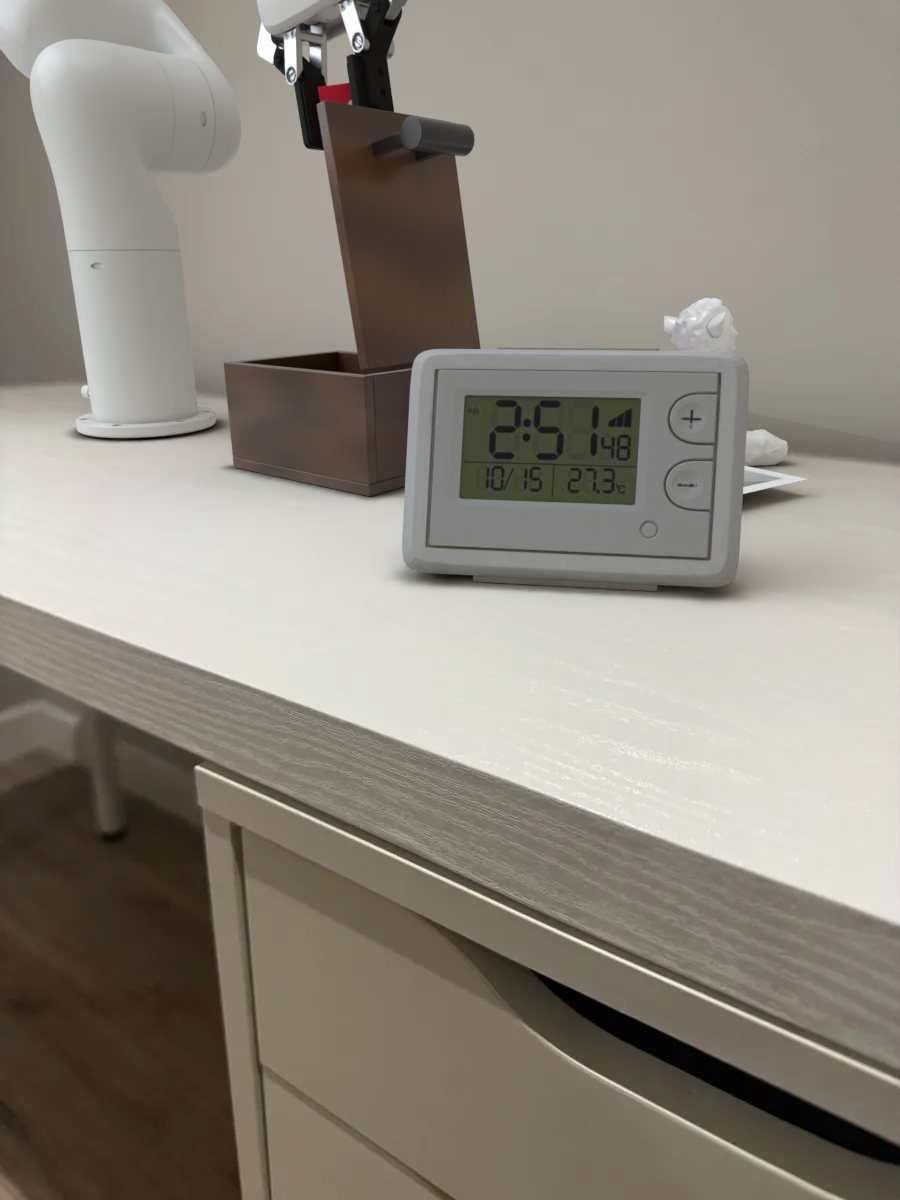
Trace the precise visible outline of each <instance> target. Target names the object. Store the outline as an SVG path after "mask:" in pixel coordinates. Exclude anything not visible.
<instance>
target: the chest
mask: <svg viewBox="0 0 900 1200" xmlns="http://www.w3.org/2000/svg"><path fill="white" fill-rule="evenodd" d="M412 367H413V363H410V364H402V365H395V366H387V367H380V368H372V369H364V370H361V369H360V365H359V359H358V353H357V351H353V350H352V351H351V350H339V349H337V350H329V351H320V352H310V353H309V352H308V353H300V354H292V355H291V354H290V355H281V356H273V357H272V356H271V357H261V358H253V359H245V360H243V359H242V360H234V361H224V362H223V371H224V380H225V381H224V382H225V392H226V402H227V412H228V413H227V414H228V422H229V423H228V424H229V433H230V445H231V453H232V463H233V464H232V465H233V468H236V469H240V470H245V471H250V472H254V473H260V474H264V475H267V476H268V475H269V476H273V477H276V478H277V477H278V478H281V479H282V478H283V479H286V480H291V481H297V482H301V483H306V484H310V485H314V486H315V485H316V486H320V487H324V488H328V489H334V490H339V491H342V492H348V493H352V494H358V495H360V496H361V495H362V496H367V497H372V496H375V495H380V494H383V493H386V492H391V491H394V490H397V489H401V488H405V477H406V457H407V438H408V419H409V400H410V385H411V374H412Z"/></svg>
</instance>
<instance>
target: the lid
mask: <svg viewBox="0 0 900 1200" xmlns="http://www.w3.org/2000/svg"><path fill="white" fill-rule="evenodd" d="M316 106H317V112H318V118H319V124H320V130H321V136H322V142H323V148H324V151H323V154H324V160H325V166H326V172H327V178H328V183H329V189H330V195H331V196H330V197H331V201H332V208H333V213H334V219H335V220H334V221H335V226H336V230H337V238H338V243H339V250H340V256H341V262H342V268H343V274H344V280H345V286H346V292H347V299H348V304H349V310H350V317H351V321H352V322H351V323H352V327H353V334H354V341H355V346H356V352H357V353H358V359H359V365H360V369H361V370H364V369H372V368H380V367H387V366H395V365H402V364H410V363H414V360H415V358H416V357H417V356H418V354H420V353H422V352H424V351H427V350H431V349H482V348H481V342H480V341H481V340H480V333H479V326H478V325H479V324H478V319H477V318H478V317H477V310H476V302H475V296H474V295H475V294H474V287H473V280H472V279H473V278H472V273H471V266H470V258H469V251H468V243H467V235H466V228H465V219H464V211H463V207H462V205H463V204H462V197H461V190H460V182H459V175H458V167H457V160H456V159H457V158H456V157H467V156H469V154H471V152H472V151H473V149H474V146H475V138H476V137H475V133H474V130H473V129H472V127H471V126H469V125H468V124H462V123H456V122H452V121H448V120H443V119H436V118H431V117H425V116H419V115H413V114H407V113H402V112H395V111H394V112H390V111H384V110H378V109H373V108H367V107H361V106H355V105H349V104H343V103H337V102H331V101H326V100H324V101H322V102H320V103H318V104H317V105H316Z"/></svg>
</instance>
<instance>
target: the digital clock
mask: <svg viewBox="0 0 900 1200" xmlns="http://www.w3.org/2000/svg"><path fill="white" fill-rule="evenodd" d="M749 369H750V368H749V365H748V362H747V360H746V359H745V357H744V356H741V355H740V354H738V353H735V352H732V353H731V352H722V351H679V350H660V348H592V347H591V348H589V347H587V348H586V347H581V348H580V347H497V348H496V349H495V348H494V349H493V348H481V349H431V350H427V351H424V352H422V353H420V354H418V356H417V357H416V358H415V360H414V363H413V367H412V374H411V385H410V400H409V419H408V438H407V457H406V477H405V487H404V497H403V515H402V533H401V534H402V536H401V540H402V541H401V553H402V559H403V562H404V564H405V565H406V566H407V567H408V568H409V569H410V570H412V571H415V572H418V573H424V574H436V575H437V574H440V575H457V576H472V582H477V583H494V584H495V583H496V584H515V585H533V586H534V585H535V586H553V587H554V586H555V587H556V586H557V587H571V588H572V587H573V588H588V589H589V588H591V589H607V590H608V589H610V590H627V591H628V590H630V591H644V592H645V591H647V592H648V591H649V592H657V591H658V586H669V587H670V586H671V587H672V586H673V587H689V588H690V587H691V588H719V587H725V586H726V585H728V584H730V583H732V581H733V580H734V579H735V577H736V575H737V572H738V568H739V561H740V548H741V533H742V532H741V531H742V517H743V515H742V513H743V497H744V494H743V483H744V466H745V449H746V432H747V431H748V415H749V414H748V413H749V399H750V397H749V396H750V370H749Z"/></svg>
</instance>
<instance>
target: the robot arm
mask: <svg viewBox="0 0 900 1200" xmlns="http://www.w3.org/2000/svg"><path fill="white" fill-rule="evenodd" d="M407 2H408V0H256V6H257V10H258V14H259V19H260V21H261V22H260V27H259V32H258V38H257V43H256V54H257V56H258V57H259V58H261V59H262V60H264V61H266V62H267V63H269V64H270V65H273V66H274V67H275V68H276V69H277V70H278V71H279V72H280V73H281V74H282V75H283V76H284V77H285V78H284V79H285V81H286V84H287V85H289V86H292V87H294V93H295V99H296V105H297V106H296V107H297V112H298V117H299V124H300V129H301V136H302V142H303V145H304V147H305V148H306V149H308V150H314V151H323V152H324V148H323V142H322V136H321V130H320V124H319V118H318V112H317V106H316V105H317V104H318V103H320V96H319V90H318V87H322V86H328V43H329V42H332V41H334V40H336V39H338V38H340V37H342V36H345V35H346V34H347V37H348V40H349V45H350V47H351V50H352V51H353V52H354V54H353V53H351V54H349V55H347V56H345V57H346V58H345V59H346V72H347V77H348V78H347V79H348V83H349V85H350V91H351V98H352V105H355V106H361V107H367V108H373V109H378V110H384V111H390V112H395V107H394V99H393V93H392V85H391V78H390V71H389V65H388V64H389V63H388V60H390V59H392V58H393V56H394V54H395V48H396V47H395V42H394V37H395V35H396V32H397V29H398V26H399V24H400V22H401V19H402V15H403V7H405V6H406V4H407ZM303 46H307V47H308V52H309V53H308V55H309V56H308V57H309V61H308V59H307V58H306V57H304V56H303ZM0 51H1V52H2V53H3V54H4V56H5V58H7V59H8V61H9V62H10V63H11V65H12V66H14V67H15V69H16V70H17V71H19V72H20V73H21V74H22V75H23V76H24V77H26V78H27V79H29V94H30V101H31V108H32V112H33V115H34V119H35V122H36V125H37V128H38V131H39V134H40V138H41V141H42V144H43V147H44V151H45V153H46V157H47V160H48V162H49V166H50V170H51V173H52V177H53V180H54V185H55V188H56V193H57V199H58V203H59V208H60V214H61V219H62V226H63V231H64V238H65V239H64V240H65V246H66V251H67V255H68V263H69V268H70V269H69V270H70V275H71V282H72V288H73V289H72V290H73V296H74V303H75V310H76V315H77V321H78V328H79V335H80V342H81V347H82V354H83V361H84V362H83V363H84V368H85V375H86V380H87V382H86V383H87V384H84V385H82V387H81V388H80V394H81V396H82V397H83V399H88V400H89V402H90V407H91V412H89V413H85V414H82V415H80V416H78V417H77V418H76V419H75V426H76V431H77V432H78V433H79V434H80V435H81V434H82V435H84V436H89V437H94V438H95V437H97V438H106V439H137V438H140V439H141V438H154V437H155V438H156V437H166V436H174V435H175V436H176V435H182V434H188V433H193V432H198V431H203V430H206V429H208V428H211V427H212V426H215V424H216V423H217V419H216V412H215V411H214V410H213V409H211V408H207V407H203V406H198V397H197V387H196V379H195V369H194V362H193V351H192V343H191V334H190V324H189V315H188V314H189V313H188V305H187V297H186V287H185V277H184V268H183V261H182V252H181V243H180V236H179V229H178V227H177V226H178V225H177V222H176V219H175V217H174V213H173V212H172V209H171V207H170V205H169V204H168V201H167V199H166V197H164V195H163V192H162V191H161V190H160V187H158V185H157V183H156V182H155V180H154V178H153V177H152V175H165V176H181V177H207V176H212V175H215V174H218V173H219V172H221V171H223V170H224V169H226V168H227V167H228V166H229V165H230V164H231V163H232V162H233V160H234V159H235V157H236V156H237V154H238V150H239V147H240V144H241V137H242V123H241V116H240V110H239V106H238V103H237V99H236V97H235V94H234V92H233V90H232V88H231V86H230V84H229V82H228V80H227V79H226V77H225V76H224V74H223V72H222V70H221V69H220V68H219V67H218V65H217V64H216V63H215V62H214V60H213V59H212V58H211V57H210V56H209V54H208V53H207V51H206V50H205V49H204V47H202V45H201V44H200V43H199V42H198V41H197V39H196V38H195V37H194V36H193V34H192V33H191V32H190V31H189V29H188V28H187V27H186V26H185V24H184V23H183V22H182V20H181V19H180V18H179V16H177V14H176V13H175V12H174V11H173V10H172V9H171V7H170V6H169V5H168V4H167V3H166V2H165V1H164V0H0Z"/></svg>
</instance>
